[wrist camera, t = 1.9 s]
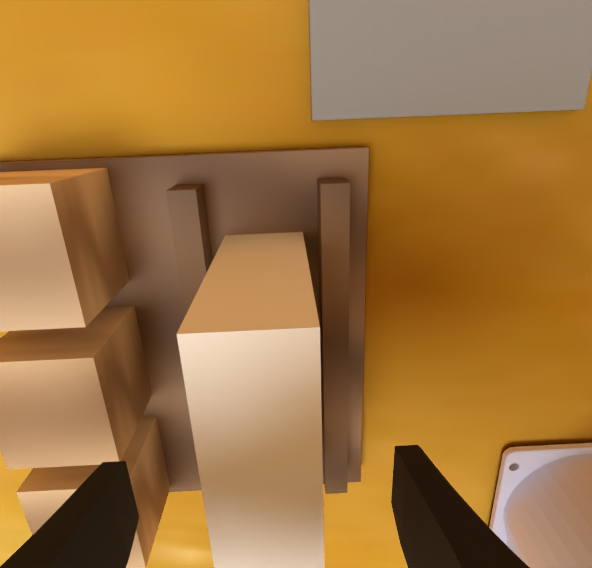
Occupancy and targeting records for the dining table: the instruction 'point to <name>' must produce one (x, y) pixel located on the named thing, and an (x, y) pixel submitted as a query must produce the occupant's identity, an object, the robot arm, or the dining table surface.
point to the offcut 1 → (58, 248)
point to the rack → (202, 249)
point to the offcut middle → (72, 392)
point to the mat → (447, 57)
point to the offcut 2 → (66, 480)
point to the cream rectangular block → (257, 403)
